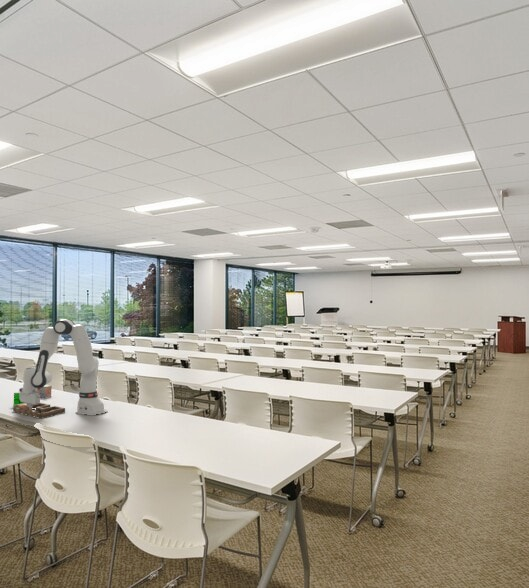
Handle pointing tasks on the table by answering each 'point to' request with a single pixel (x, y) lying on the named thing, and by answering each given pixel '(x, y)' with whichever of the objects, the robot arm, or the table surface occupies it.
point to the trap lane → (40, 410)
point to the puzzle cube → (17, 398)
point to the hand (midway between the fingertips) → (29, 409)
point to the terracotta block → (24, 407)
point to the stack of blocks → (45, 391)
